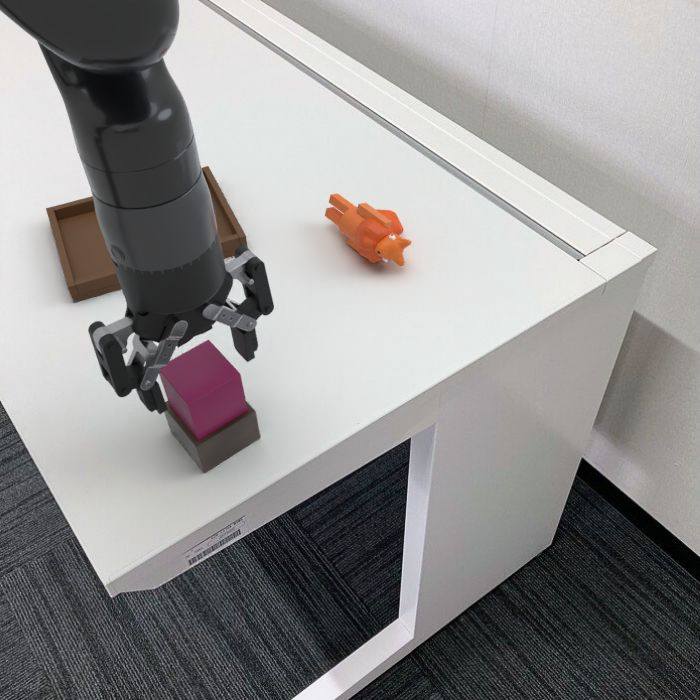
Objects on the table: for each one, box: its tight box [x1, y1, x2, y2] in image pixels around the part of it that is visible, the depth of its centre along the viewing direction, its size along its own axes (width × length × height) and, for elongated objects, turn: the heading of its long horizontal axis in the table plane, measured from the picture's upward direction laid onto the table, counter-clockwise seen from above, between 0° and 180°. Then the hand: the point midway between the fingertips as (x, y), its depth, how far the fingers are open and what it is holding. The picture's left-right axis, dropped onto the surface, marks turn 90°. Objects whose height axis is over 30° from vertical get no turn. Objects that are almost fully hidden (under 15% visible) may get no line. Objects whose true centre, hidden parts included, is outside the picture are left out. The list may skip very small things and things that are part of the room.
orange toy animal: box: [324, 193, 412, 267], centre depth 85 cm, size 5×8×12 cm
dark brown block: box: [163, 400, 262, 474], centre depth 68 cm, size 6×6×4 cm
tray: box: [45, 165, 249, 304], centre depth 87 cm, size 20×15×2 cm
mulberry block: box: [158, 339, 248, 440], centre depth 65 cm, size 5×5×5 cm
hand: (202, 379), depth 64 cm, fingers open, 8 cm apart
